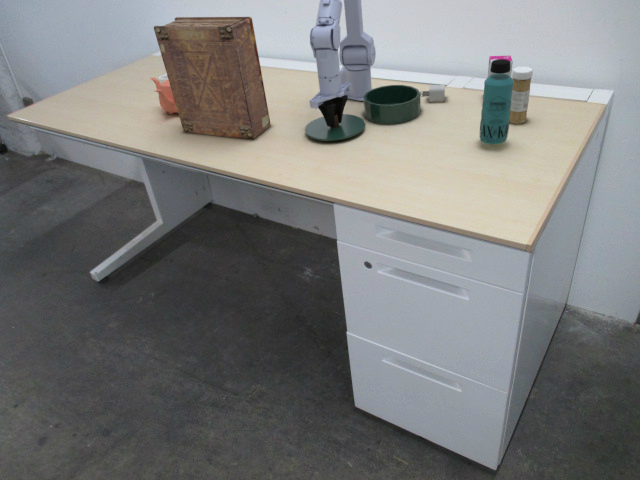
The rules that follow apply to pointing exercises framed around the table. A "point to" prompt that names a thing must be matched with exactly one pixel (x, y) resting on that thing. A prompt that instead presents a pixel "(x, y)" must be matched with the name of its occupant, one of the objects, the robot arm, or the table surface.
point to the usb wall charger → (435, 93)
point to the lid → (335, 128)
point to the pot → (392, 104)
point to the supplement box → (496, 59)
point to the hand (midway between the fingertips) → (334, 124)
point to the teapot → (165, 96)
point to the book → (215, 75)
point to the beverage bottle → (496, 104)
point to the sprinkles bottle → (520, 94)
